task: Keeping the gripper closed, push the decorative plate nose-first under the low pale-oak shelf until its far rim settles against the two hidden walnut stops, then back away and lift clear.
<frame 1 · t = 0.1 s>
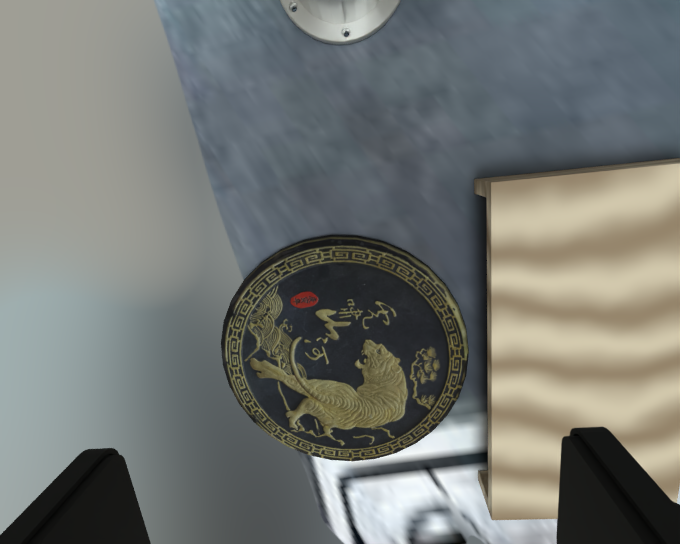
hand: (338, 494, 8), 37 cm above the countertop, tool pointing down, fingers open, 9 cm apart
decorative plate: (343, 352, 49), on the countertop
low shelf: (564, 341, 46), on the countertop
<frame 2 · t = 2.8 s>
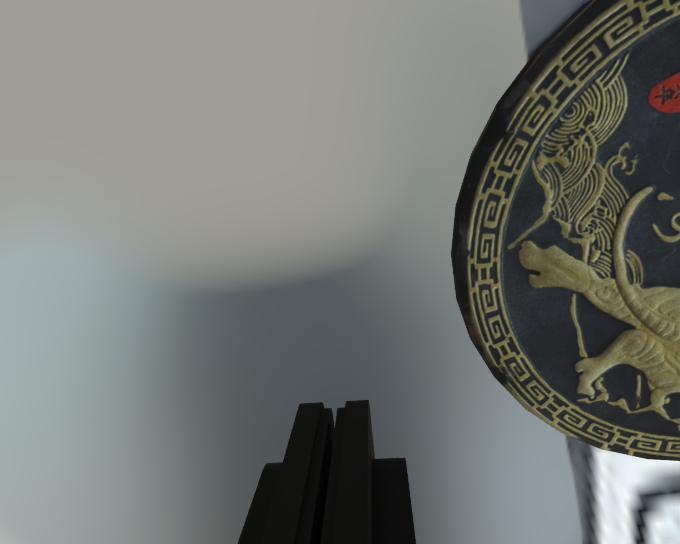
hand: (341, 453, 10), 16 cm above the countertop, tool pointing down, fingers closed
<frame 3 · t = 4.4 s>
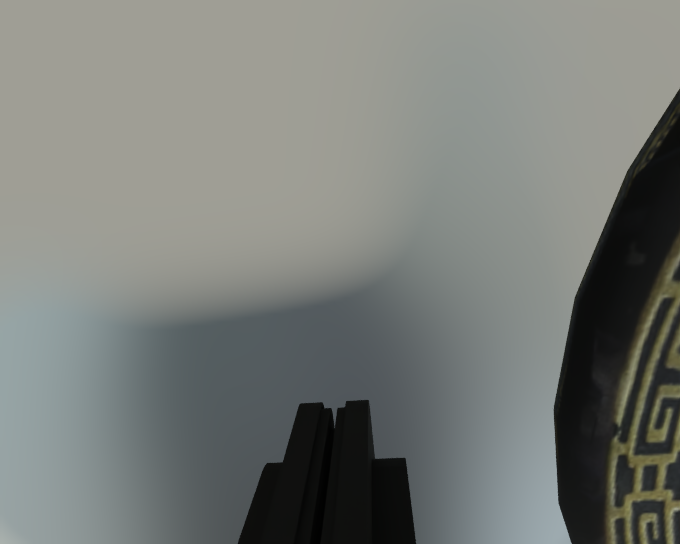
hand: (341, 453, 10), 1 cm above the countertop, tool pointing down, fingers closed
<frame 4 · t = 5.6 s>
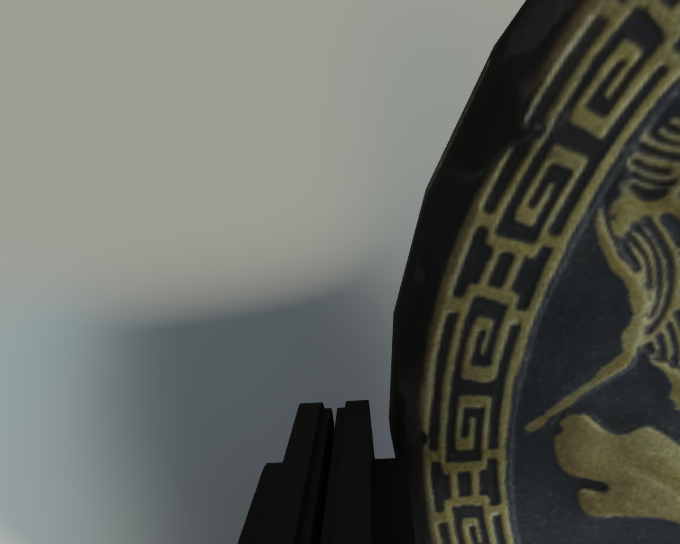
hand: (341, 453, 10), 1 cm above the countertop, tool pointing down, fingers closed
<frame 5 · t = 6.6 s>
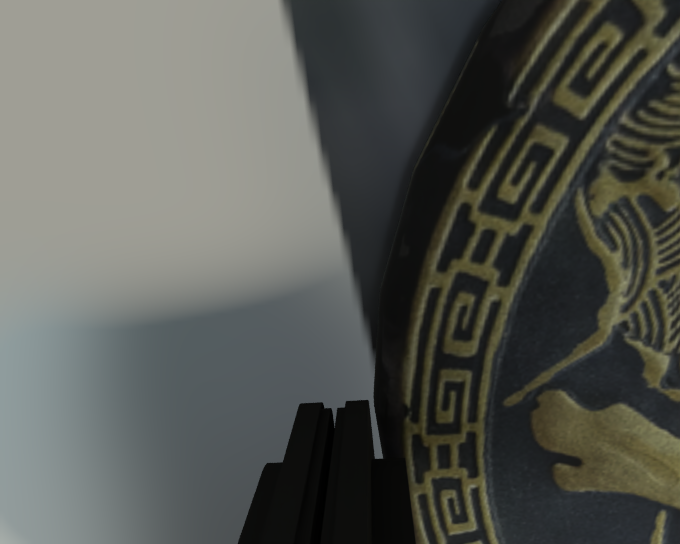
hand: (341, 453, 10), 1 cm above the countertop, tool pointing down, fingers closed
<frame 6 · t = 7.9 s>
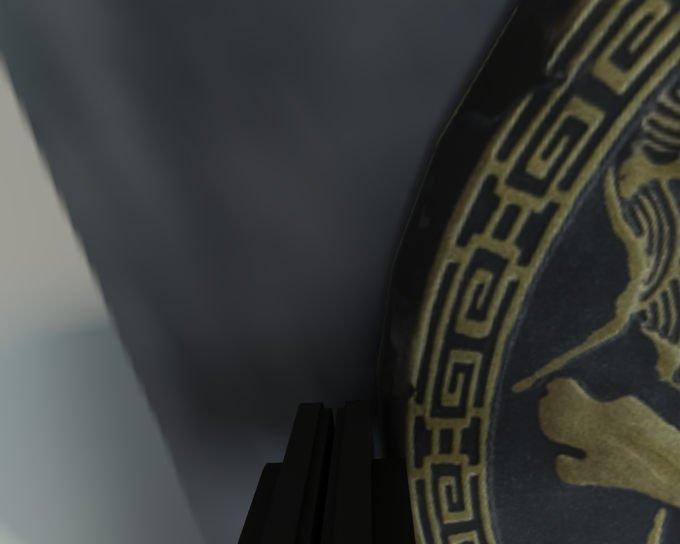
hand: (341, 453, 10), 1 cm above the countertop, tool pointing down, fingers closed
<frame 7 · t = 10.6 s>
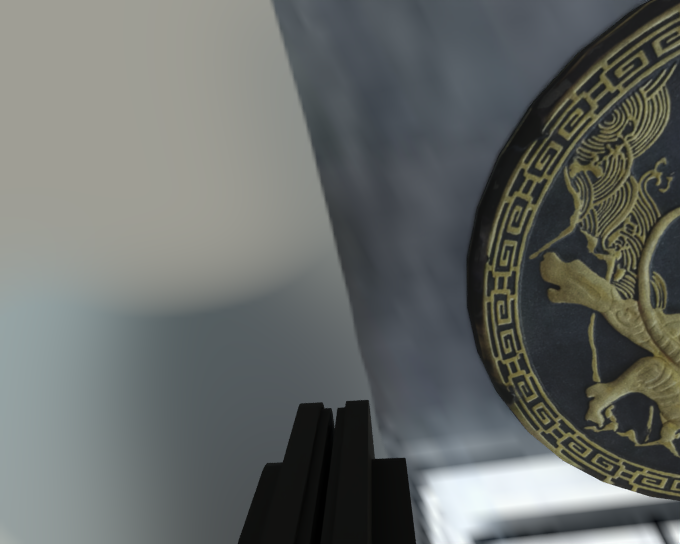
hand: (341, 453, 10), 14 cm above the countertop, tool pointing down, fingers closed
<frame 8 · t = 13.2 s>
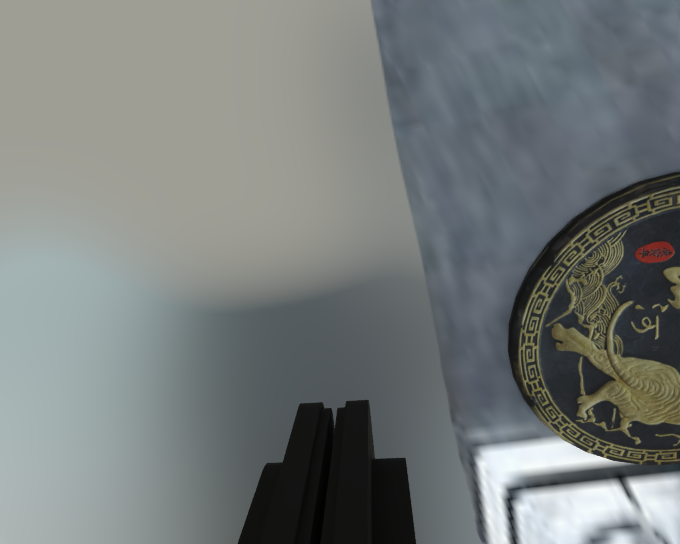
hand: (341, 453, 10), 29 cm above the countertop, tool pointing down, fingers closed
decorative plate: (663, 327, 38), on the countertop
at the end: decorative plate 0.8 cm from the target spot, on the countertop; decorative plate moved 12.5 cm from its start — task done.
